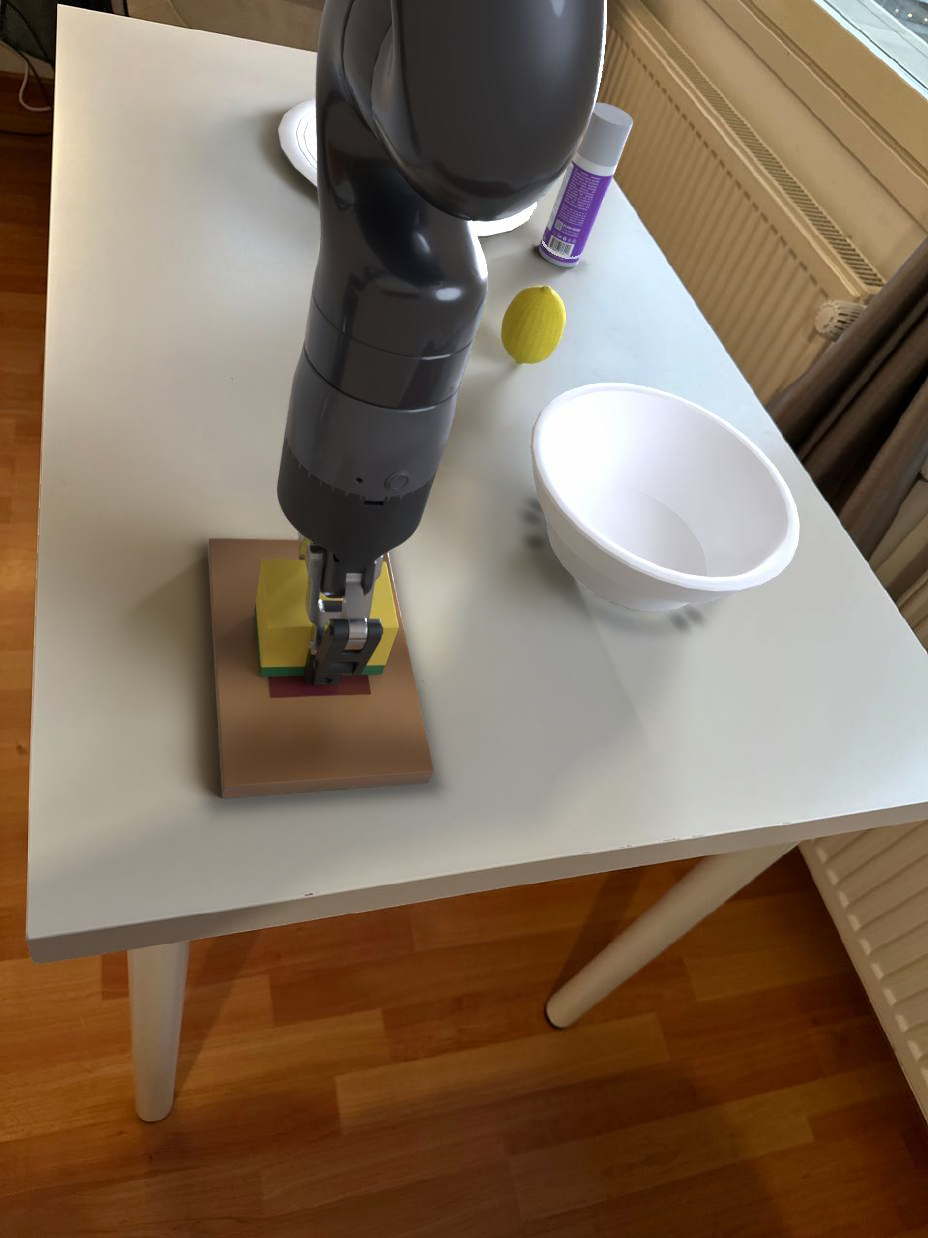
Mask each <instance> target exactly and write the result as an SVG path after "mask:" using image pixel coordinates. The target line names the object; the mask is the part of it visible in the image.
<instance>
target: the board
mask: <svg viewBox="0 0 928 1238" xmlns="http://www.w3.org/2000/svg"><path fill="white" fill-rule="evenodd" d="M298 553H299V544H298V539H269V538H266V539H263V538H262V539H261V538H222V537H221V538H217V537H216V538H215V537H213V538H212V537H210V538H208V545H207V562H208V579H209V596H210V613H211V631H212V649H213V651H212V652H213V665H214V666H213V667H214V680H215V683H214V684H215V698H216V700H215V701H216V717H217V718H216V719H217V720H216V721H217V737H218V751H219V768H220V786H221V787H220V788H221V789H220V790H221V798H222V799H234V798H235V799H236V798H246V797H260V796H274V795H283V794H284V795H286V794H287V795H288V794H301V793H302V794H303V793H314V792H327V791H338V790H339V791H340V790H353V789H354V790H355V789H367V788H381V787H392V786H405V785H406V786H407V785H419V784H428V783H430V781H431V778H432V777H433V775H434V773H435V770H434V769H435V768H434V765H433V759H432V755H431V749H430V745H429V740H428V736H427V731H426V728H425V727H426V726H425V722H424V717H423V712H422V706H421V701H420V697H419V693H418V687H417V684H416V678H415V674H414V669H413V664H412V660H411V655H410V650H409V645H408V640H407V635H406V631H405V626H404V622H403V616H402V611H401V608H400V603H399V598H398V593H397V588H396V583H395V579H394V574H393V570H392V569H393V568H392V564H391V560H390V559H391V558H390V556H389V555H390V554H389V551H388V552H387V553H385V554H384V555H383V562H386V564H387V569H388V574H389V579H390V584H391V590H392V595H393V600H394V605H395V610H396V616H397V621H398V626H399V627H398V630H397V633H396V636H395V639H394V642H393V644H392V647H391V650H390V653H389V656H388V659H387V661H386V664H385V668H384V670H383V673H382V674H374V675H342V679H341V681H340V682H338V684H337V685H333V686H312V684H307V683H306V682H305V679H304V676H277V677H260V676H259V665H258V652H257V639H256V627H255V614H254V609H255V602H256V595H257V588H258V581H259V573H260V566H261V560H262V559H285V560H299V559H298Z"/></svg>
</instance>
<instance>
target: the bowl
mask: <svg viewBox="0 0 928 1238" xmlns="http://www.w3.org/2000/svg"><path fill="white" fill-rule="evenodd" d="M530 452H531V453H530V454H531V461H532V462H531V463H532V471H533V480H534V485H535V492H536V497H537V500H538V503H539V505H540V508H541V509H542V512H543V515H544V517H545V518H546V522H545V523H546V524H545V526H546V532H547V538H548V541H549V543H550V546H551V548H552V550H553V553H554V554H555V556H556V557H557V559H558V560H559V562H560V563H561V565H562V566H563V568H565V570H566V571H567V572H568V573H569V574H570V575H571V576H572V577H573V578H574V580H576V581H578V582H579V583H580V584H581V585H582V586H583V587H585V588H586V589H587V590H589V591H591V592H592V593H593V594H595V595H597V596H599V597H600V598H602V599H604V600H606V601H609V602H611V603H613V604H616V605H618V606H621V607H624V608H627V609H631V610H635V611H642V612H649V613H657V612H658V613H659V612H669V611H674V610H676V609H680V608H683V607H684V606H686V605H688V604H692V603H693V604H694V603H696V604H697V603H711V602H714V601H719V600H722V599H726V598H729V597H732V596H734V595H737V594H740V593H742V592H745V591H749V590H750V589H753V588H756V587H759V586H761V585H764V584H765V583H766V582H767V583H768V581H770V580H772V579H774V578H776V577H777V576H778V575H780V574H781V573H782V572H783V571H784V570H785V568H786V567H788V565H789V564H790V563H791V562H792V561H793V558H794V555H795V553H796V550H797V549H798V545H799V536H800V525H801V524H800V519H799V514H798V508H797V504H796V502H795V500H794V498H793V495H792V493H791V491H790V488H789V486H788V485H787V483H786V481H785V480H784V478H783V476H782V475H781V473H780V472H779V470H778V469H777V467H776V466H775V465H774V463H772V461H771V460H770V459H769V458H768V456H766V455H765V453H764V452H763V451H762V450H761V449H760V448H759V447H758V446H757V445H756V444H754V442H752V441H751V440H750V439H749V438H748V437H747V436H746V435H745V434H744V433H743V432H741V431H740V430H739V429H737V428H735V426H733V425H731V423H729V422H727V421H726V420H724V419H723V418H721V417H720V416H718V415H716V414H714V413H712V412H711V411H709V410H707V409H706V408H704V407H702V406H700V405H698V404H696V403H695V402H692V401H689V400H687V399H686V398H685V399H684V398H682V397H680V396H678V395H675V394H672V393H669V392H665V391H662V390H660V389H656V388H653V387H648V386H643V385H638V384H632V383H623V382H622V383H621V382H620V383H619V382H600V383H599V382H598V383H591V384H584V385H581V386H578V387H575V388H571V389H568V390H566V391H565V392H563V393H561V394H559V395H557V396H556V397H554V398H553V399H552V400H550V401H549V402H548V404H547V405H545V407H544V408H543V409H542V410H541V411H540V412H539V414H538V415H537V417H536V420H535V422H534V424H533V427H532V429H531V440H530Z"/></svg>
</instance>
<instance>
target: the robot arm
mask: <svg viewBox="0 0 928 1238" xmlns="http://www.w3.org/2000/svg"><path fill="white" fill-rule="evenodd" d="M319 26H320V27H319V32H318V41H317V49H316V65H315V97H314V98H316V154H317V188H316V189H317V201H318V202H317V203H318V213H319V229H320V230H319V234H320V235H319V237H320V238H319V250H318V257H317V262H316V266H315V271H314V274H313V281H312V285H311V292H310V299H309V304H308V305H309V306H308V313H307V318H306V319H307V320H306V325H305V332H304V340H303V344H302V348H301V352H300V355H299V358H298V361H297V364H296V366H295V370H294V373H293V377H292V381H291V382H292V383H291V388H290V394H289V400H288V407H287V408H288V409H287V415H286V420H285V421H286V422H285V428H284V434H283V441H282V448H281V449H282V450H281V456H280V462H279V469H278V476H277V484H276V496H277V501H278V505H279V507H280V509H281V511H282V513H283V515H284V516H285V519H287V521H288V522H289V523H290V525H292V527H293V528H294V529H295V530H296V531H297V540H298V544H299V553H298V559H299V560H305V564H306V568H307V572H308V582H307V592H306V601H305V607H306V611H307V615H308V619H309V621H310V622H311V623H312V630H311V640H309V651H308V655H307V659H306V664H305V668H304V679H305V682H306V683H307V684H312V686H333V685H337V684H338V682H340V681H341V679H342V675H343V674H352V675H360V674H361V673H362V672H363V670H364V668H365V667H366V665H367V663H368V662H369V660H370V658H371V656H372V655H373V653H374V651H375V650H376V648H377V646H378V645H379V643H380V641H381V638H382V635H383V626H382V623H381V620H380V619H369V618H370V612H371V606H372V599H373V592H374V585H375V581H376V580H377V579H378V578H379V577H380V575H381V569H382V562H383V555H384V554H385V553H387V552H388V553H389V552H391V551H393V550H394V549H396V548H398V547H399V546H401V545H402V544H404V543H405V542H407V540H409V539H410V538H411V537H412V536H413V535H414V534H415V532H416V531H417V530H418V528H419V526H420V525H421V521H422V518H423V515H424V513H425V509H426V506H427V503H428V500H429V498H430V495H431V491H432V488H433V485H434V482H435V479H436V476H437V473H438V470H439V467H440V464H441V461H442V458H443V455H444V452H445V449H446V446H447V443H448V441H449V438H450V434H451V431H452V427H453V424H454V420H455V415H456V409H457V401H458V395H459V390H460V386H461V383H462V380H463V377H464V374H465V371H466V368H467V366H468V365H467V364H468V361H469V359H470V356H471V353H472V349H473V346H474V343H475V340H476V337H477V333H478V331H479V328H480V325H481V322H482V319H483V315H484V311H485V307H486V303H487V298H488V292H489V272H488V266H487V261H486V257H485V254H484V251H483V249H482V246H481V244H480V241H479V238H477V235H476V232H475V229H474V226H473V222H491V221H497V220H501V219H505V218H509V217H511V216H513V215H516V214H518V213H520V212H522V211H524V210H526V209H527V208H529V207H531V206H532V205H533V204H535V203H536V204H537V203H538V202H539V201H540V200H541V199H542V198H543V197H544V196H546V195H547V194H548V193H549V191H551V189H552V188H553V187H554V186H555V185H556V184H557V182H558V181H559V180H560V179H561V177H562V176H564V174H565V173H566V170H567V168H568V166H569V164H570V163H571V161H572V159H573V158H574V156H575V154H576V152H577V150H578V148H579V146H580V144H581V142H582V140H583V137H584V135H585V133H586V130H587V127H588V125H589V122H590V119H591V116H592V112H593V109H594V106H595V103H597V98H598V94H599V88H600V83H601V78H602V71H603V65H604V56H605V45H606V31H607V0H325V3H324V6H323V10H322V15H321V21H320V25H319ZM472 221H473V222H472ZM320 592H321V593H322V594H323V595H324V596H325V597H327V598H341V599H342V600H320V599H319V598H320ZM326 624H327V627H328V628H327V630H326V632H325V633H324V627H325V625H326Z"/></svg>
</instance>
